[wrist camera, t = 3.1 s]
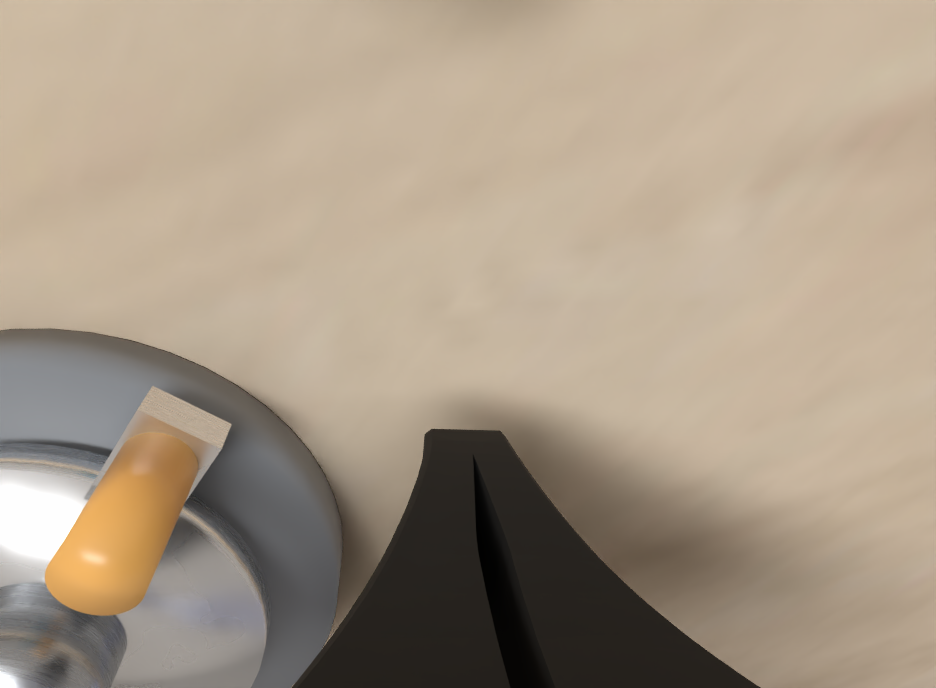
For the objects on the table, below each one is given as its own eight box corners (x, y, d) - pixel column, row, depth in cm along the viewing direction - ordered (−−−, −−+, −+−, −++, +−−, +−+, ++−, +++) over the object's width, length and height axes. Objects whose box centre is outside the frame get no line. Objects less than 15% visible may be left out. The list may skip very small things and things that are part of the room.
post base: (438, 544, 17) (448, 707, 13) (145, 744, 20) (82, 927, 16) (24, 212, 12) (-155, 313, 8) (-285, 540, 15) (-525, 730, 11)
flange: (168, 763, 18) (117, 930, 15) (-217, 654, 15) (-388, 836, 11) (390, 501, 14) (386, 648, 11) (-61, 282, 11) (-249, 399, 8)
